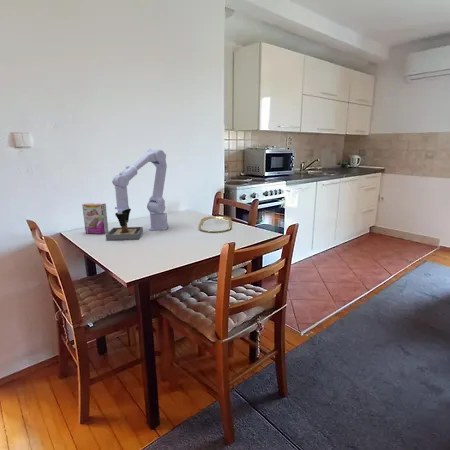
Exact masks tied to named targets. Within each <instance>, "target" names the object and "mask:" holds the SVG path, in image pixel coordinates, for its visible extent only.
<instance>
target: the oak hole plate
mask: <svg viewBox="0 0 450 450" xmlns="http://www.w3.org/2000/svg"><path fill="white" fill-rule="evenodd" d="M136 233H137V229H128V233H122V229H118V230H117V231H116V232H115V233H114V234H136Z"/></svg>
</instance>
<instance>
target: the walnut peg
mask: <svg viewBox="0 0 450 450" xmlns="http://www.w3.org/2000/svg"><path fill="white" fill-rule="evenodd" d="M120 227H121V228H122V233H128V228H127V227H128V223H127V220H126V221H125V226H120Z"/></svg>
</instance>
